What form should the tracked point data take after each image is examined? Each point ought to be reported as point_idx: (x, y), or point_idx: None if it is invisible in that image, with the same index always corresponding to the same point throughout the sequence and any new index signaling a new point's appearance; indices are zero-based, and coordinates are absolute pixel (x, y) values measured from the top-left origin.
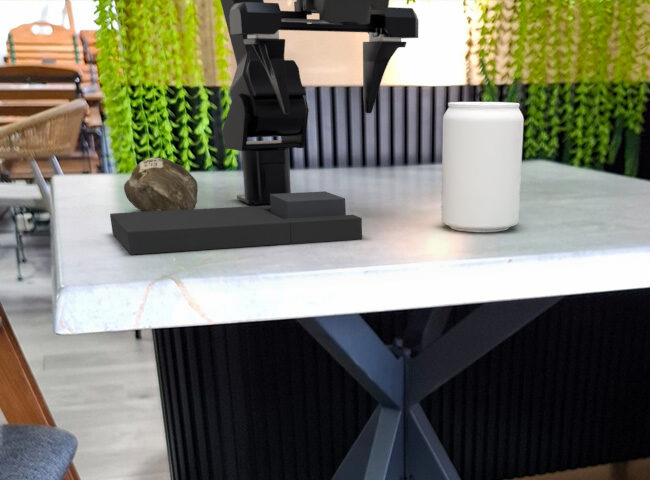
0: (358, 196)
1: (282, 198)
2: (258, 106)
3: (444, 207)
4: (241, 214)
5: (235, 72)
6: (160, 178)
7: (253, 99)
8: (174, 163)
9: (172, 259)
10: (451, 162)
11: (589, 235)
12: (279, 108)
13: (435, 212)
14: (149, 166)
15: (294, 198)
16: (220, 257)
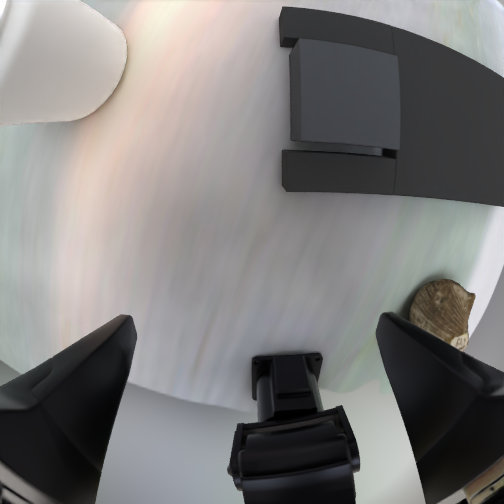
0: (163, 381)
1: (397, 85)
2: (339, 447)
3: (117, 51)
4: (432, 120)
5: None
6: (458, 315)
7: (348, 456)
8: None
9: (479, 45)
10: (83, 13)
11: None
12: (296, 453)
13: (88, 224)
14: (463, 337)
15: (381, 75)
16: (448, 23)
